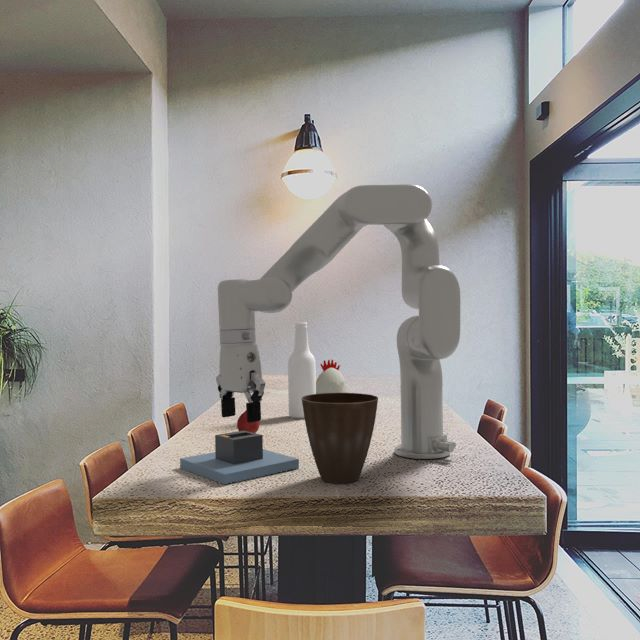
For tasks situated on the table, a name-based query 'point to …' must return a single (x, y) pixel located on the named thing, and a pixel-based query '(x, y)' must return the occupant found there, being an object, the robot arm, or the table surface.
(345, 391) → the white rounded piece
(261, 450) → the hollow gray block
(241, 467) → the base board
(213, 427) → the table surface
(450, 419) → the table surface
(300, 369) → the alcohol
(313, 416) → the plant pot
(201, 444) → the table surface
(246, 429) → the onion
